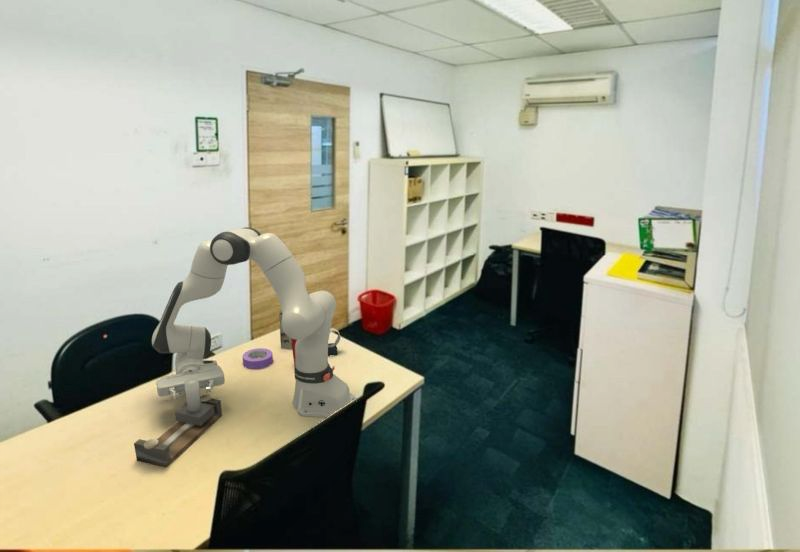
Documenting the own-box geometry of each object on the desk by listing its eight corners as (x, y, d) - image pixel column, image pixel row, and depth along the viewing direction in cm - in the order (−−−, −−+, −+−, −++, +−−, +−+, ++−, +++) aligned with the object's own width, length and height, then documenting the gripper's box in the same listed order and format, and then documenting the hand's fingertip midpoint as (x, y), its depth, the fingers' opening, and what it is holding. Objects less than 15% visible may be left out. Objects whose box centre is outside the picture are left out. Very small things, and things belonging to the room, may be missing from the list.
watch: (320, 350, 201) (320, 327, 198) (339, 348, 204) (338, 325, 200) (322, 356, 196) (322, 333, 193) (341, 354, 198) (341, 331, 195)
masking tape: (246, 356, 195) (245, 348, 194) (274, 355, 196) (274, 347, 195) (240, 370, 184) (239, 361, 182) (270, 369, 185) (269, 361, 184)
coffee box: (294, 349, 202) (293, 315, 197) (280, 348, 202) (278, 314, 197) (301, 340, 210) (299, 307, 205) (287, 339, 211) (285, 306, 206)
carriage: (190, 408, 153) (186, 373, 149) (214, 413, 151) (210, 378, 147) (176, 420, 147) (171, 384, 143) (200, 425, 145) (196, 389, 141)
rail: (197, 409, 158) (195, 392, 156) (223, 414, 155) (221, 397, 153) (134, 462, 132) (131, 443, 130) (164, 469, 130) (161, 450, 128)
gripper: (154, 371, 152) (154, 392, 141) (220, 359, 161) (225, 378, 150) (157, 387, 154) (157, 410, 143) (222, 375, 163) (227, 395, 151)
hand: (193, 393), depth 146 cm, fingers open, 8 cm apart
